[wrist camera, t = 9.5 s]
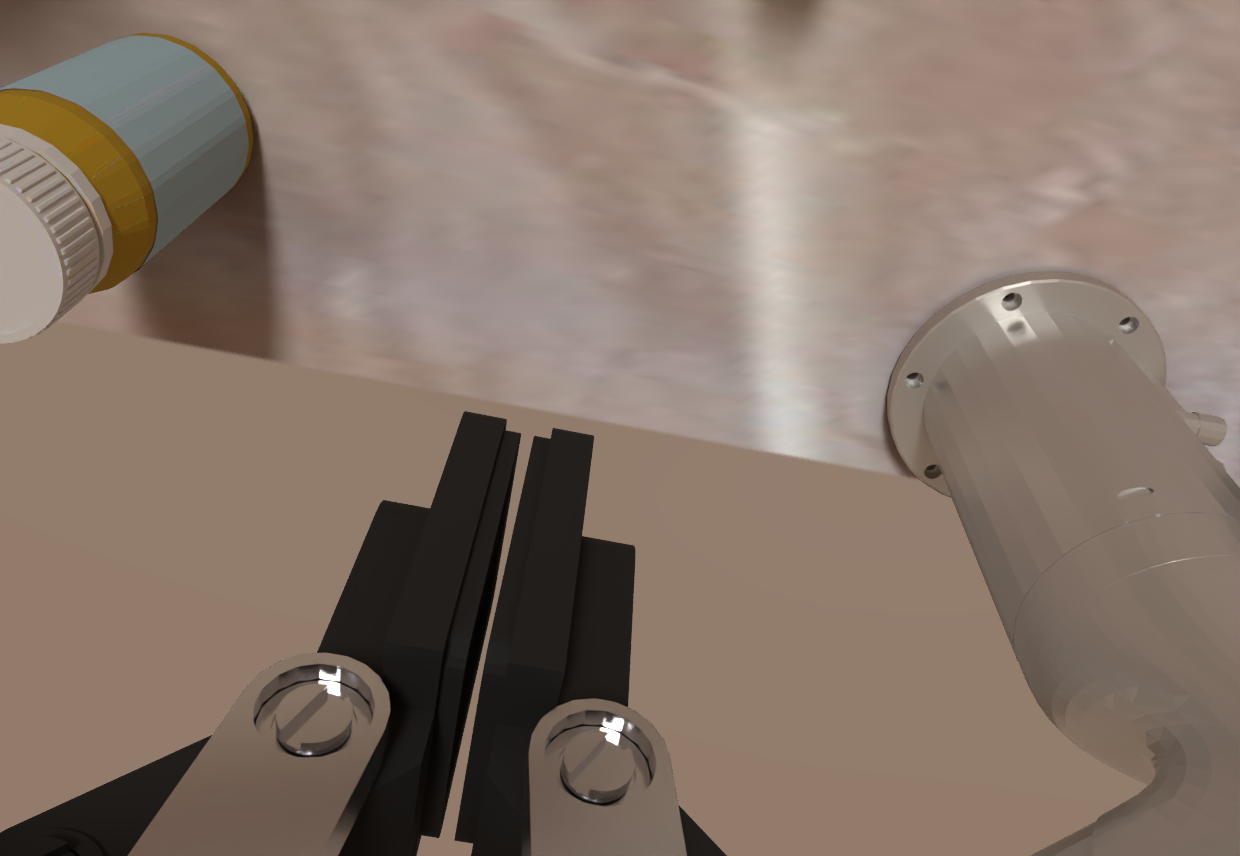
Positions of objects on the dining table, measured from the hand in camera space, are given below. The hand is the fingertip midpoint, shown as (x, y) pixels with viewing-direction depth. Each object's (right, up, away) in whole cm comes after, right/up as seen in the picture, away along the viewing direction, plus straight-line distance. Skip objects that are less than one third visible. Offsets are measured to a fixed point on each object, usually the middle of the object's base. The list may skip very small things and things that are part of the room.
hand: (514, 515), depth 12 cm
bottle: (-18, +15, +29) cm, 37 cm away
